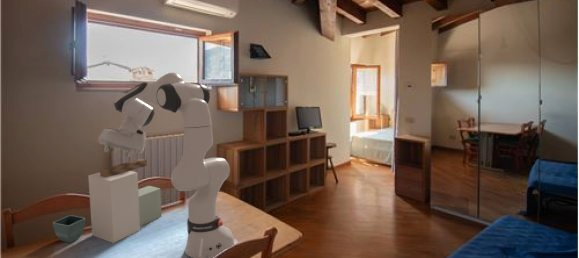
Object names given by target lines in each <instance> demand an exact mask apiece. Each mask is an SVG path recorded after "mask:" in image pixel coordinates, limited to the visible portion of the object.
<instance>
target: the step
mask: <svg viewBox="0 0 579 258" xmlns="http://www.w3.org/2000/svg"><path fill="white" fill-rule="evenodd" d="M161 193H162V192H161V188H160V187H156V186H153V185H146V186H144V187H142V188H138V194H139V218H140V227H143V226H145V225H146V224H148V223H151V222H152V221H155V220H157V219H159V218H161V217H162V199H161V198H162V194H161Z"/></svg>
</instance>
